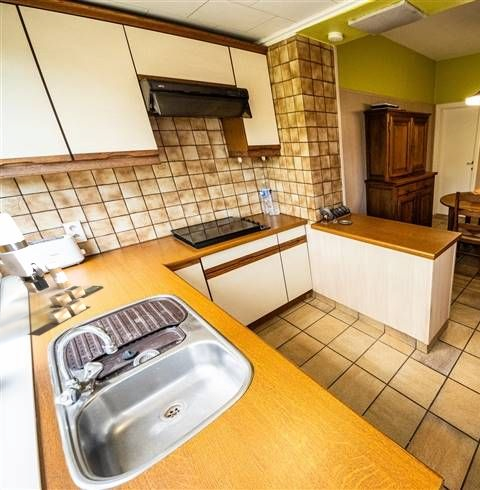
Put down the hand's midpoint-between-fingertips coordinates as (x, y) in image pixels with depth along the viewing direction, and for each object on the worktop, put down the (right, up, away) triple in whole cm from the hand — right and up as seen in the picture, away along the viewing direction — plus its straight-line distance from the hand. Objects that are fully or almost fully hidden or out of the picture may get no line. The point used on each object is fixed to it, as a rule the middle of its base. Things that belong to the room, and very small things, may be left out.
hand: (39, 288), depth 105 cm
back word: (-7, -8, +21) cm, 24 cm away
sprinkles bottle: (-26, -5, +32) cm, 41 cm away
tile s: (0, -1, 0) cm, 1 cm away
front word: (+4, -15, +5) cm, 16 cm away
